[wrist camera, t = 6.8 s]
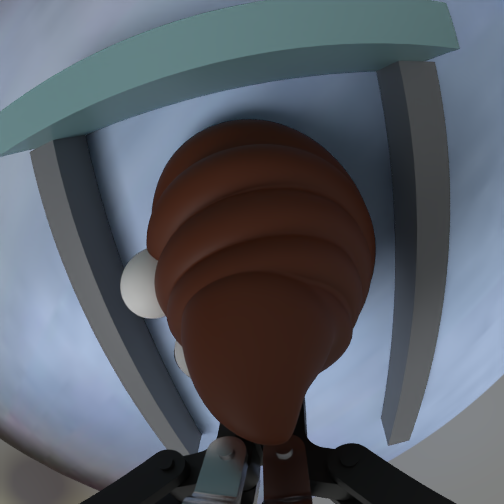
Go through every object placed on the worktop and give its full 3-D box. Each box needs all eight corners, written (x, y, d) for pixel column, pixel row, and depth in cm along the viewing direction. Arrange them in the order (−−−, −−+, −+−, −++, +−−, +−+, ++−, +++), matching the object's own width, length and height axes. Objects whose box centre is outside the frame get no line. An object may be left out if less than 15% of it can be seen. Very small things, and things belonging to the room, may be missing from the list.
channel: (57, 117, 12) (-18, 125, 7) (400, 39, 9) (459, 5, 5) (183, 434, 20) (168, 488, 15) (400, 413, 18) (417, 469, 13)
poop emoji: (390, 282, 14) (476, 442, 5) (239, 350, 16) (211, 515, 7) (292, 83, 11) (337, -23, 2) (124, 188, 13) (-39, 287, 4)
